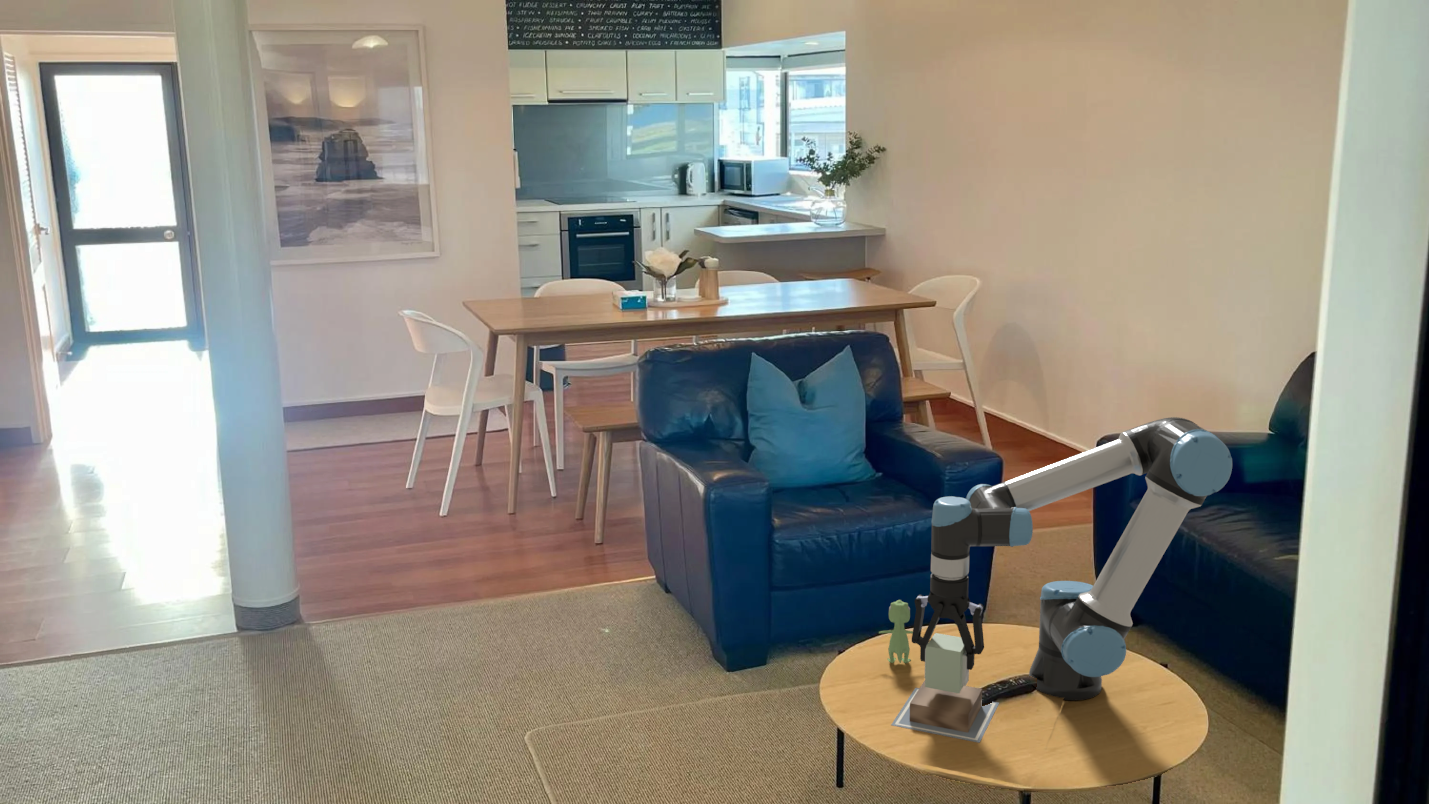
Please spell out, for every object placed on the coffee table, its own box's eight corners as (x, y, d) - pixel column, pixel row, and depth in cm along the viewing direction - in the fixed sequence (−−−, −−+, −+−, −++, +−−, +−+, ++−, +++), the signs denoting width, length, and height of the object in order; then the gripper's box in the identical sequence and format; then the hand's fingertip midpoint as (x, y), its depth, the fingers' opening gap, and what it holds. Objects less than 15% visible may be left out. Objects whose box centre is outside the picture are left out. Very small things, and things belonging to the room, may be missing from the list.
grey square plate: (999, 705, 247) (999, 702, 247) (979, 745, 231) (979, 742, 231) (915, 690, 254) (915, 687, 254) (890, 727, 239) (891, 724, 239)
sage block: (967, 679, 243) (968, 638, 241) (959, 693, 237) (960, 651, 235) (934, 673, 246) (935, 632, 244) (924, 686, 239) (926, 645, 238)
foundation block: (981, 706, 245) (982, 688, 245) (968, 732, 235) (968, 714, 234) (925, 695, 250) (925, 678, 250) (909, 721, 240) (909, 703, 239)
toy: (899, 654, 272) (898, 593, 269) (923, 665, 266) (923, 602, 263) (876, 662, 268) (876, 600, 265) (900, 674, 262) (900, 610, 259)
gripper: (1003, 574, 235) (999, 680, 240) (906, 560, 243) (904, 663, 248) (995, 587, 228) (991, 696, 233) (896, 572, 237) (894, 678, 242)
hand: (946, 679), depth 241 cm, fingers closed on sage block, 7 cm apart
